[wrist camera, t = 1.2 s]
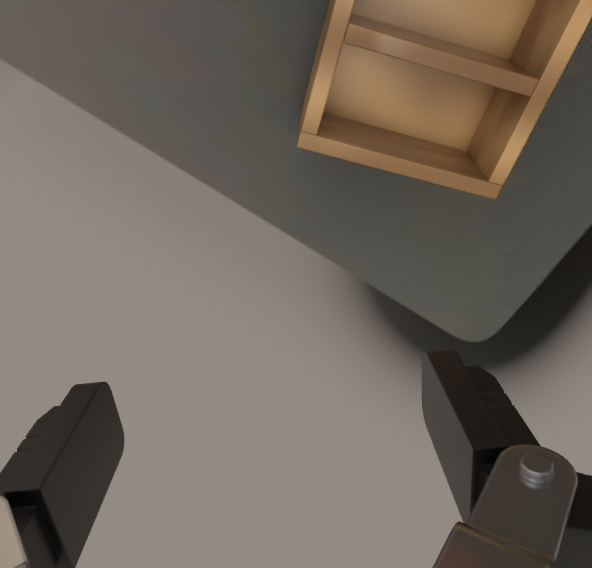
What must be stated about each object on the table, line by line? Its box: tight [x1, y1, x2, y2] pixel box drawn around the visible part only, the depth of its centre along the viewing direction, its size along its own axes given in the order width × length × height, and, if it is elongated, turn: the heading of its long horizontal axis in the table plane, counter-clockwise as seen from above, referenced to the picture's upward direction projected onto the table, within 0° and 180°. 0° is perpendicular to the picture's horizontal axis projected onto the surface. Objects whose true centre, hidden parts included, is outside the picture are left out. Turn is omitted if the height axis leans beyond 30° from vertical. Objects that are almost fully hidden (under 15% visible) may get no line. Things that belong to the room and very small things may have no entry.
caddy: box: [297, 0, 592, 199], centre depth 30 cm, size 13×13×6 cm
